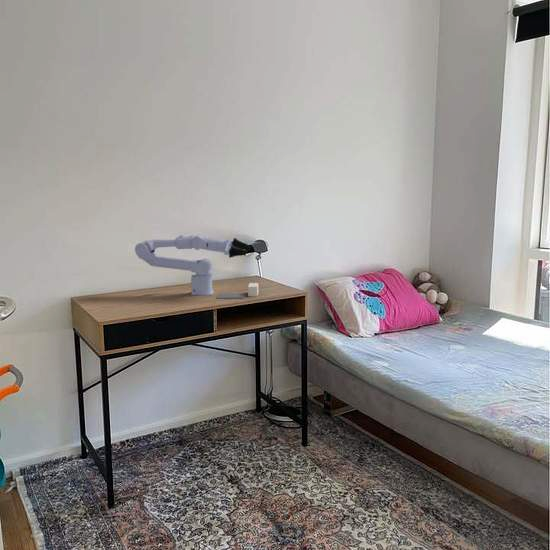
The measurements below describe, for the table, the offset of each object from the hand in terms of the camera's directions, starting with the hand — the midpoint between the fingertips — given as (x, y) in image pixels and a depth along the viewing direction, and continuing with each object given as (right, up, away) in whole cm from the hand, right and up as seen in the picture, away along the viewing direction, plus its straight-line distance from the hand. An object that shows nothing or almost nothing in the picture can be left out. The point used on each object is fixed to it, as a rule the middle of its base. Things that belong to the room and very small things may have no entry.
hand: (247, 249), depth 248 cm
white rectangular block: (+3, -20, +1) cm, 21 cm away
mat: (-7, -21, -3) cm, 22 cm away
